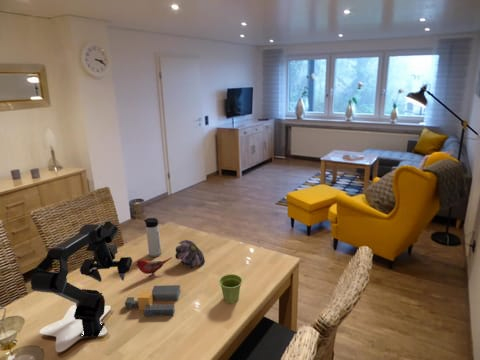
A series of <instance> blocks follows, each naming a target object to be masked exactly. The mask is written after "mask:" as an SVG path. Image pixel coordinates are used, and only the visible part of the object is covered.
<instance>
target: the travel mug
mask: <svg viewBox="0 0 480 360" xmlns="http://www.w3.org/2000/svg"><path fill="white" fill-rule="evenodd" d="M144 222H145V231H146V238H147V239H146V240H147V248H148V255H149V257H150V258H158V257H160V256H162V247H161V246H162V245H161V235H160V227H159V219H157V218H155V217H148V218H146V219H144Z"/></svg>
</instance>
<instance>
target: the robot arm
mask: <svg viewBox="0 0 480 360" xmlns="http://www.w3.org/2000/svg"><path fill="white" fill-rule="evenodd" d="M118 233H119V228H118V226H116V225H115V224H114V223H112V221H110V220H109V221H105V222H104V224H100V223H99V224H93V223H86V224H84V225H83V226H82V227H81V228H80V229H79V231H78V233H76V234H75V235H74V236H71V237H70V238H68V239H66V240H65V241H63V242H61V243H59V244H58V245H57V246H55V247H52V248H49V250H48V251H47V254H46V256H45V257H44V259H42V261H41V262H39V264H37V266H36V267H35V270H34V271H33V275H32V277H31V279H30V286H31V287H30V289H31V290H32V291H33V292H40V293H49V294H50V293H51V294H54V295H57V296H59V297H61V298H64V299H66V300H68V301H70V302H73V303H75V311H74V314H73V318H74V319H75V320H79V321H80V320H81V324H82V331H84V335H83V334H82V335H83V336H86V337H85V338H92V337H93V338H97V337H99V336H100V334H101V332H102V330H103V329H102V328H104V327H105V322H101V318H102V317H103V315H104V314H105V306H106V305H105V304H106V302H105V301H106V300H105V297H104V295H103V292H99V290H96V289H83V288H82V289H81V288H80V287H77V286H76V285H73V284H71V283H69V282H68V281H67V280H68V278H67V277H68V274H69V268H68V261H69V258H70V257H71V256H72V255H74V254H75V253H77V252H78V251H80V250H81V249H83V248H85V247H86V246H87V247H86V252H91V253H92V256H93V258H89V259H88V258H87V259H84V260H83V262H82V264H81V266H80V267H79V272H80V274H81V275H84V276H87V277H90V278H92V279H93V280H96V281H97V282H99V283H101V282H102V280H103V279H102V275H101V274H100V271H99V270H107V269H110V268H117V272H118V276H119V277H120V279H121V281H123V282H124V281H125V275H126V273H128V272H130V269H131V267H132V264H133V258H132V257H131V256H125V257H124V256H122V257H120V259H119V260H115V259H116V254H118V246H117V244H110V243H112V242H113V241H114V239H115V237H116V236H117V234H118ZM55 261H56V262H59V270H58V271H57V272H56V271H46V270H48V268H49V267H51V266H52V265H53V263H54V262H55ZM100 323H101V324H102V325H101V324H100ZM103 326H104V327H103ZM100 331H101V332H100ZM99 333H100V334H99ZM98 335H99V336H98ZM87 336H88V337H87Z"/></svg>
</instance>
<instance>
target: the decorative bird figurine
mask: <svg viewBox="0 0 480 360" xmlns="http://www.w3.org/2000/svg"><path fill="white" fill-rule="evenodd" d="M171 259H173V257H168V258H167V259H164V260H148V261H147V260H145V259H138V260H137V261H136V264H135V266H134V267H137V269H138V270H139V271H140V272H141V273H143V274H144V275H145V274H147V276H146V278H150V277H152V276H155V275H156V272H157V271H158V270H161V268H162V267H163V266H164V264H165V263H167V262H168V261H170V260H171ZM149 274H150V275H149Z"/></svg>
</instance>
